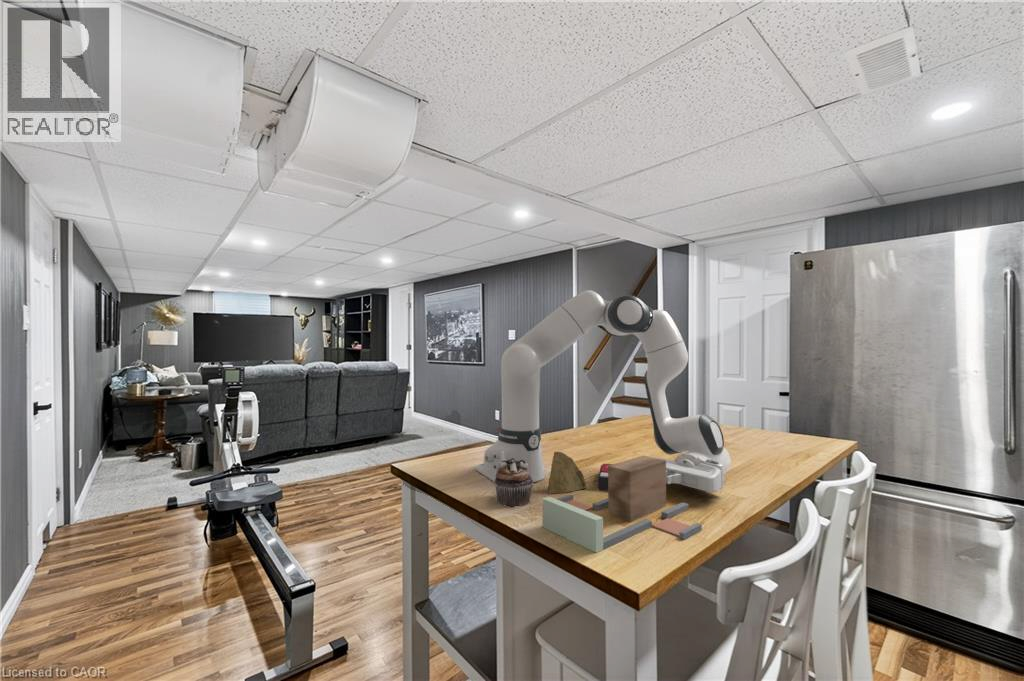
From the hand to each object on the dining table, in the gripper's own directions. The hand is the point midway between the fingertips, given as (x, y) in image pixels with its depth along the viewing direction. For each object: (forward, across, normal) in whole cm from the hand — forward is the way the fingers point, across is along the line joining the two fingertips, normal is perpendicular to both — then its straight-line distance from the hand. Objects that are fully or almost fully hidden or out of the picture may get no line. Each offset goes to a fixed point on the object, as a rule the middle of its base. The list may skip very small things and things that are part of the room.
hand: (662, 479), depth 106 cm
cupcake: (+29, -23, +5) cm, 37 cm away
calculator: (-3, -15, +6) cm, 16 cm away
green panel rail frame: (+17, 0, +5) cm, 18 cm away
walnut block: (+11, 0, +5) cm, 12 cm away
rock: (+13, -20, +5) cm, 24 cm away
